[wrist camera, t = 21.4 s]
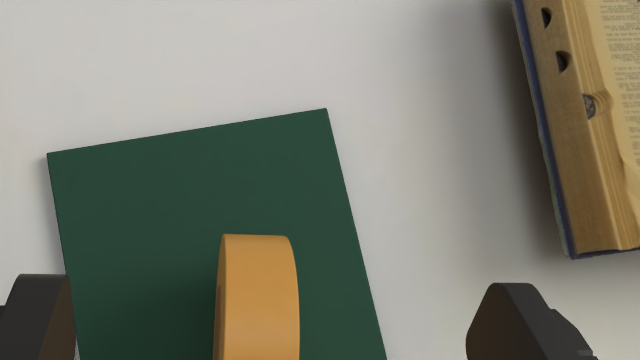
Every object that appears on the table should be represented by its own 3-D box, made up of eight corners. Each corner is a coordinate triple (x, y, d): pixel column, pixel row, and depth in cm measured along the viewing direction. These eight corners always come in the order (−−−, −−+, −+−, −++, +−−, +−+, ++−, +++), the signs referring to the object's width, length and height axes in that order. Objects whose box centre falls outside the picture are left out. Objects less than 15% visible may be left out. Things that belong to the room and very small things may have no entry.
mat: (423, 525, 25) (428, 529, 25) (128, 638, 22) (127, 646, 21) (324, 110, 28) (326, 107, 27) (48, 155, 25) (45, 152, 24)
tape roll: (268, 438, 23) (303, 452, 16) (208, 441, 23) (218, 457, 16) (269, 261, 26) (299, 209, 19) (215, 260, 25) (226, 206, 19)
